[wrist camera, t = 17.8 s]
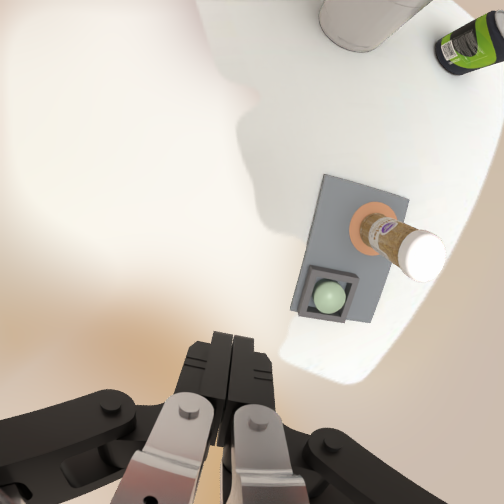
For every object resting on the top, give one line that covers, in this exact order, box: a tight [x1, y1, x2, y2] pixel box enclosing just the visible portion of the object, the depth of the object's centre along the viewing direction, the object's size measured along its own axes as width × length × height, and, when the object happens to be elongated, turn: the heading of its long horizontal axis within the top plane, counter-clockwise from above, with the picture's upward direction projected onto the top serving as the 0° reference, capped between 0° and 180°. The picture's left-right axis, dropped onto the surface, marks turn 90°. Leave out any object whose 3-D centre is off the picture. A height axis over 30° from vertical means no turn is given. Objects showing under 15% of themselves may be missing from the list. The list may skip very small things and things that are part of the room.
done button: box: [312, 278, 346, 314], centre depth 37 cm, size 4×4×2 cm
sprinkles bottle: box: [360, 213, 446, 282], centre depth 29 cm, size 5×5×13 cm
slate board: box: [290, 174, 409, 323], centre depth 37 cm, size 18×12×3 cm, turn 168°
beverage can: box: [436, 10, 504, 75], centre depth 22 cm, size 6×6×15 cm
